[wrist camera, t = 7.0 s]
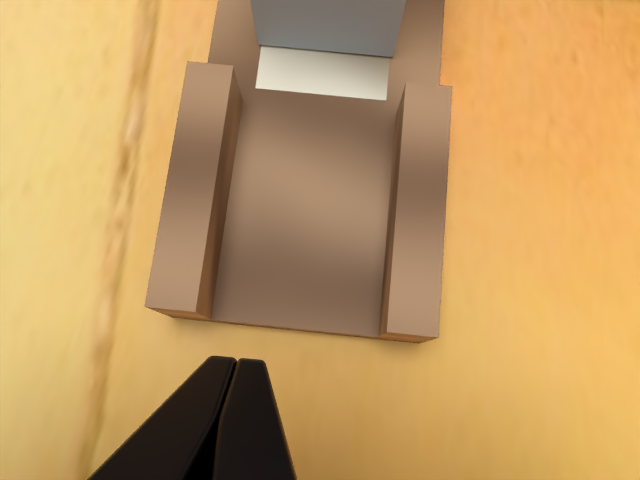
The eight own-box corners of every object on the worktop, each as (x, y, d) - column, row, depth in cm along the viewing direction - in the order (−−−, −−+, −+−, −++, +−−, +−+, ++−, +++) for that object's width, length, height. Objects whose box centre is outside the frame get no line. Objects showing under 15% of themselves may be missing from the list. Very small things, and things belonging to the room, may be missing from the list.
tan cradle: (419, 343, 20) (438, 337, 16) (172, 317, 20) (144, 306, 17) (443, -33, 23) (462, -96, 20) (231, -52, 23) (218, -118, 20)
